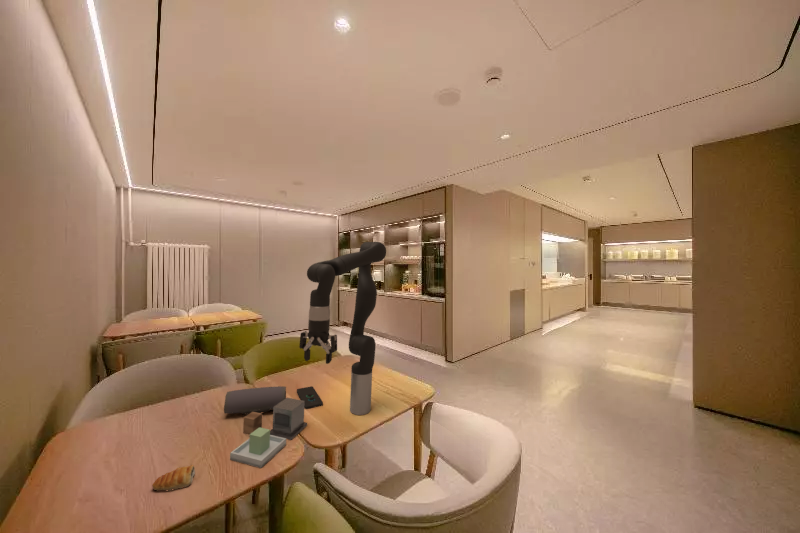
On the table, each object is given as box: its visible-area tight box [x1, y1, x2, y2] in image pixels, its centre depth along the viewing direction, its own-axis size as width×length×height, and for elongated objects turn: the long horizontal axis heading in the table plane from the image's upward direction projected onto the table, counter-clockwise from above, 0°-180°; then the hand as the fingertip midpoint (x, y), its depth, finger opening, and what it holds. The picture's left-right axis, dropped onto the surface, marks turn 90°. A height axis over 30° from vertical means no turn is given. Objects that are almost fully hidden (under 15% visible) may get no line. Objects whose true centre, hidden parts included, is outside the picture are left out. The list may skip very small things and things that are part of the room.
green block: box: [248, 427, 271, 455], centre depth 96 cm, size 4×4×6 cm
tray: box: [229, 435, 287, 469], centre depth 96 cm, size 12×12×2 cm
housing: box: [269, 397, 308, 441], centre depth 109 cm, size 10×10×10 cm
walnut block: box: [242, 412, 263, 436], centre depth 107 cm, size 4×4×6 cm
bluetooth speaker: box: [223, 385, 287, 415], centre depth 121 cm, size 23×9×10 cm, turn 108°
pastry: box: [152, 464, 196, 492], centre depth 81 cm, size 9×7×4 cm
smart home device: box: [296, 385, 324, 410], centre depth 135 cm, size 8×2×20 cm
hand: (317, 361), depth 105 cm, fingers open, 8 cm apart
